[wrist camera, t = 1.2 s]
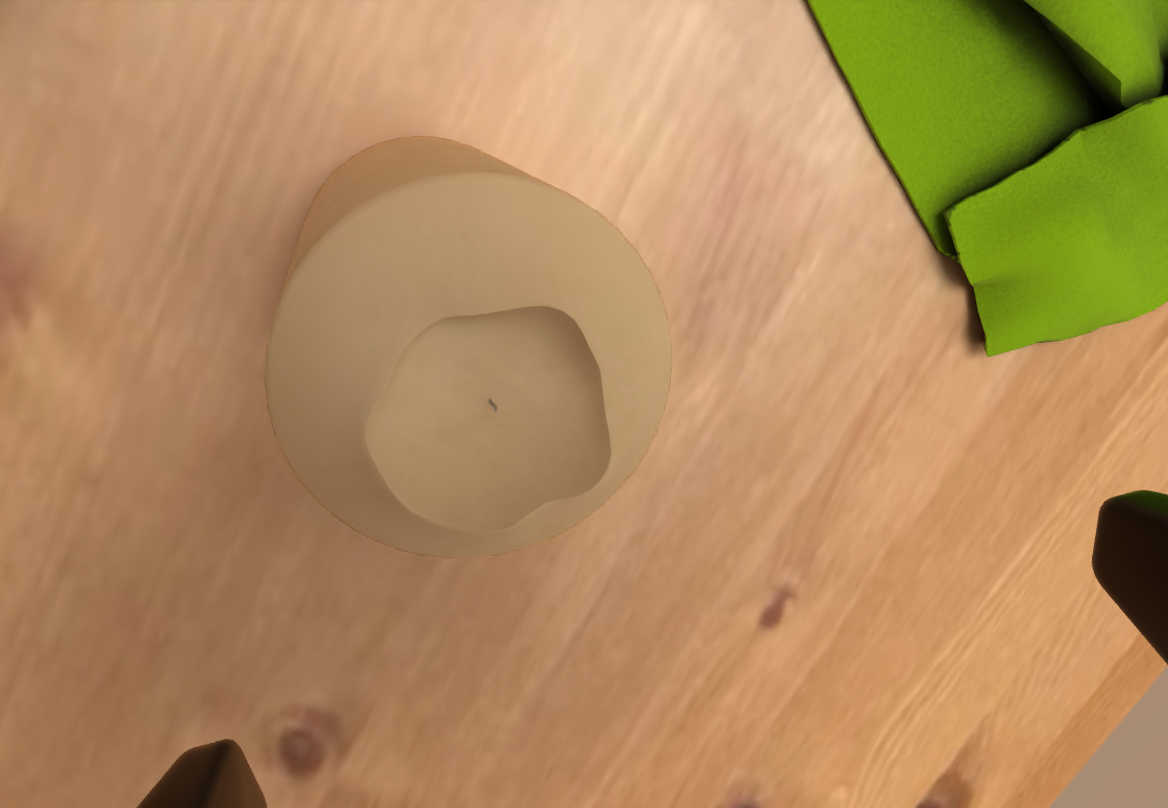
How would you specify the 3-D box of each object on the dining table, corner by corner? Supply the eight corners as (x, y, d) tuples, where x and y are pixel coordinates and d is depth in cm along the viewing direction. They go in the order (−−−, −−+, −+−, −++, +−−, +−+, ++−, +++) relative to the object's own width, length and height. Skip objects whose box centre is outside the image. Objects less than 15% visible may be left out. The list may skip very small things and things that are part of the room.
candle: (384, 80, 17) (427, 74, 8) (586, 226, 19) (797, 352, 10) (254, 294, 17) (155, 512, 9) (461, 409, 20) (554, 674, 11)
